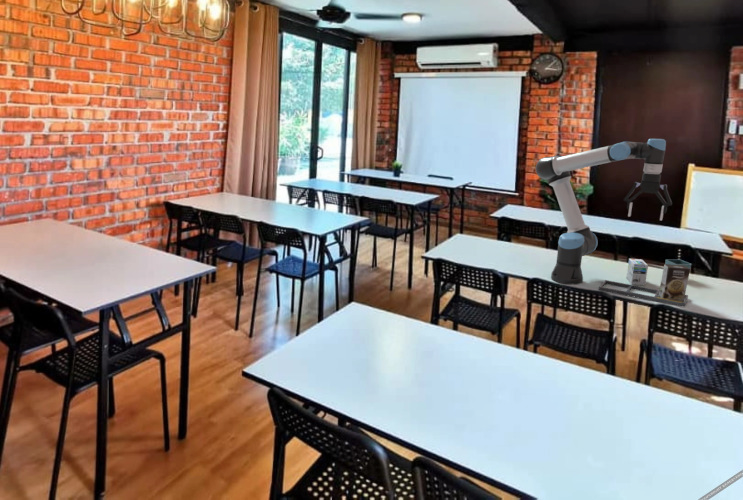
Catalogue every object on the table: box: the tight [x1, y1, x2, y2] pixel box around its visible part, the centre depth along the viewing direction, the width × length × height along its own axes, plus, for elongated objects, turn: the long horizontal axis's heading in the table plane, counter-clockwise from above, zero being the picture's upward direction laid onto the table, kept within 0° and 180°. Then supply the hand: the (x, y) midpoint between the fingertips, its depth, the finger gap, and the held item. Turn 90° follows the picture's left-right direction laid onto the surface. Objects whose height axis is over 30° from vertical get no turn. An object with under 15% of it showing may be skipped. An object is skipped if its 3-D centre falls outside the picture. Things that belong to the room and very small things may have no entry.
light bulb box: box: [625, 258, 649, 286], centre depth 267 cm, size 11×7×11 cm, turn 168°
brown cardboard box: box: [658, 263, 691, 302], centre depth 241 cm, size 9×6×16 cm
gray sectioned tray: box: [598, 279, 689, 308], centre depth 249 cm, size 36×13×2 cm, turn 56°
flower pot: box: [664, 259, 692, 270], centre depth 274 cm, size 9×9×9 cm
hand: (644, 218), depth 250 cm, fingers open, 13 cm apart
